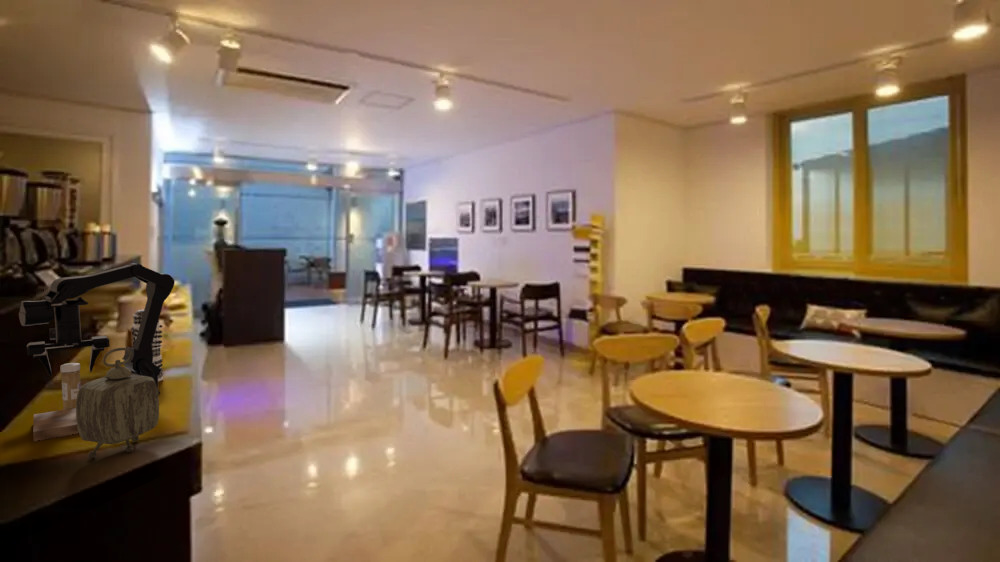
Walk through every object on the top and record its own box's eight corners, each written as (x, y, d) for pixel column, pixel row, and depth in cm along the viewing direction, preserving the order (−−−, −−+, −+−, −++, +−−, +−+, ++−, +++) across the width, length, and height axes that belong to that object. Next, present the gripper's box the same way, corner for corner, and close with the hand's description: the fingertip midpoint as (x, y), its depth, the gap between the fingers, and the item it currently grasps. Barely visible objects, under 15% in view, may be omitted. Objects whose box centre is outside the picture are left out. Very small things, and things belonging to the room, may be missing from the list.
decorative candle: (142, 377, 196) (139, 308, 194) (169, 376, 197) (166, 308, 195) (127, 384, 187) (124, 311, 185) (156, 383, 188) (153, 311, 186)
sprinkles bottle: (81, 410, 160) (79, 364, 159) (61, 412, 157) (59, 366, 156) (83, 405, 164) (80, 361, 163) (63, 408, 161) (61, 363, 160)
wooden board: (123, 408, 161) (122, 400, 161) (130, 424, 149) (129, 415, 148) (34, 423, 149) (33, 414, 148) (33, 441, 136) (33, 431, 136)
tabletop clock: (136, 438, 139) (132, 341, 137) (164, 442, 136) (160, 343, 134) (78, 460, 125) (72, 353, 123) (108, 466, 122) (102, 356, 120)
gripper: (105, 315, 171) (107, 364, 172) (25, 320, 159) (29, 373, 160) (108, 319, 162) (111, 371, 163) (25, 326, 150) (28, 381, 151)
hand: (71, 374), depth 160 cm, fingers open, 9 cm apart
